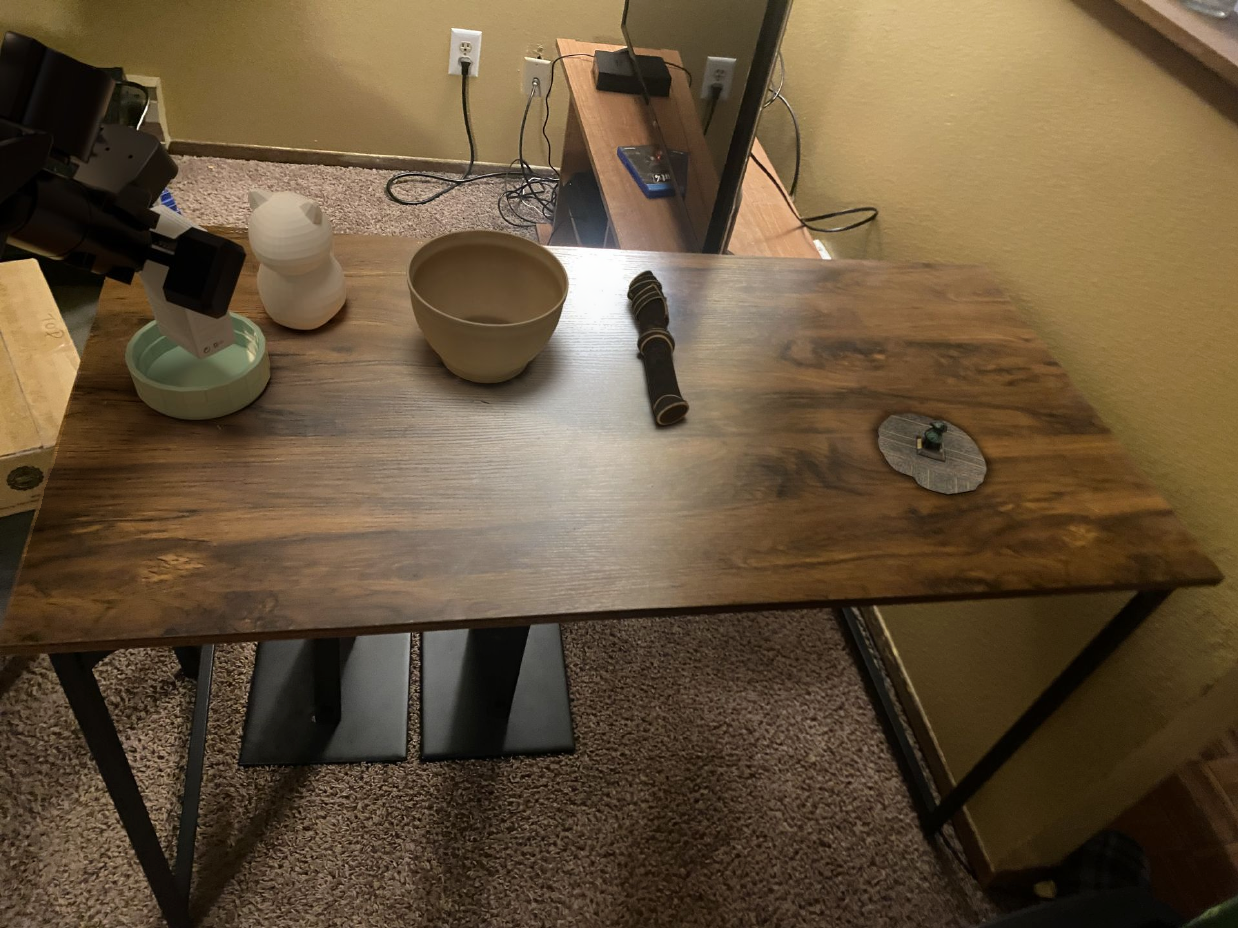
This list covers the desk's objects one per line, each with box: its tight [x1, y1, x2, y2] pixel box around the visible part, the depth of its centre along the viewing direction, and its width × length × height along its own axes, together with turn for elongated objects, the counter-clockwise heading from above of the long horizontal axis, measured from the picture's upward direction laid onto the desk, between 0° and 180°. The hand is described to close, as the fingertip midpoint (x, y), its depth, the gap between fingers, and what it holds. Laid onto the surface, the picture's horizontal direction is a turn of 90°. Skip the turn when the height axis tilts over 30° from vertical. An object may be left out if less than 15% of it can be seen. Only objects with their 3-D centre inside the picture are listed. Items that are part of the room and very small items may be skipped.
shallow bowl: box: [124, 310, 271, 421], centre depth 82 cm, size 12×12×4 cm
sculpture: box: [877, 412, 987, 495], centre depth 92 cm, size 12×9×8 cm
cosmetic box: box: [138, 204, 236, 360], centre depth 74 cm, size 6×4×12 cm
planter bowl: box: [405, 228, 570, 384], centre depth 88 cm, size 16×16×11 cm
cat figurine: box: [247, 187, 348, 331], centre depth 87 cm, size 9×12×15 cm
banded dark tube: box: [626, 269, 690, 426], centre depth 95 cm, size 4×5×25 cm
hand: (192, 272), depth 75 cm, fingers closed on cosmetic box, 6 cm apart
